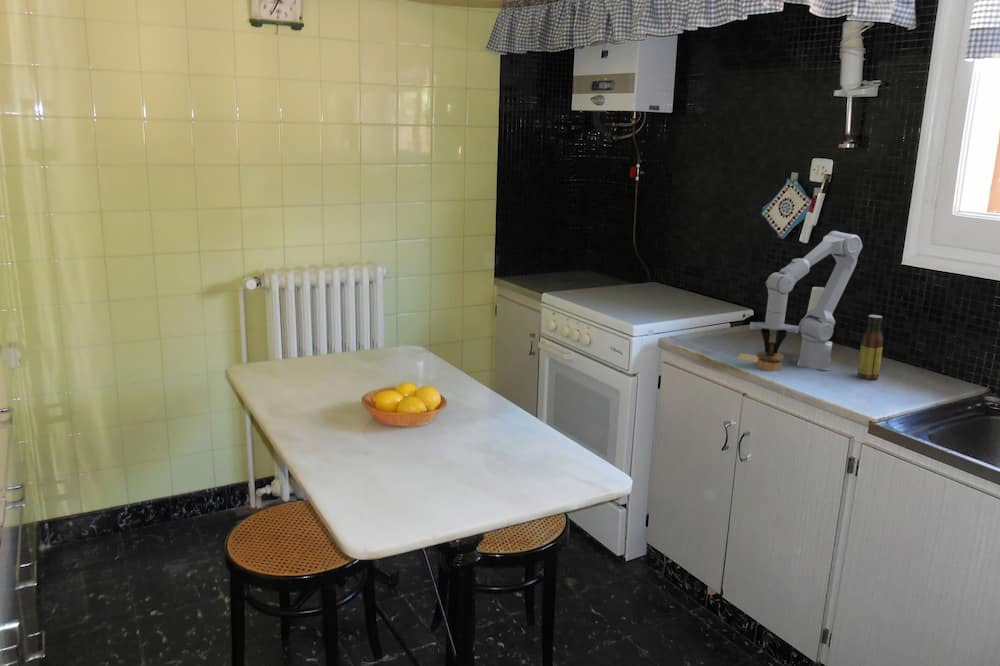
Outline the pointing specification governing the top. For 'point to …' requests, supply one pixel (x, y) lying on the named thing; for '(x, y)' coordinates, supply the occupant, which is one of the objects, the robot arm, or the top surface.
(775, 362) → the bowl
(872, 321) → the sauce bottle
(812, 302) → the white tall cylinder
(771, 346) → the lid
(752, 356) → the mat
